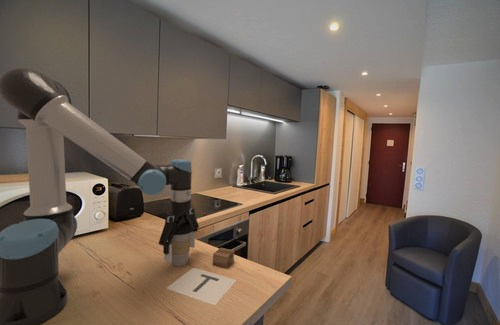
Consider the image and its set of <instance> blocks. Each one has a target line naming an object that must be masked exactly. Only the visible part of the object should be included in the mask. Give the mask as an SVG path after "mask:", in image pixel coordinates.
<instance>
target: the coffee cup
mask: <svg viewBox="0 0 500 325" xmlns="http://www.w3.org/2000/svg"><path fill="white" fill-rule="evenodd" d="M174 224H175V223H174ZM192 231H193V227H192V226H191V224H190V223H184V224H182V225H180V226H179V228H177V230H176V232H175V234H174V237H173V239H172V241H171V243H170V244H171V245H172V262H171V265H172V266H174V267H182V266H183V267H184V266H185V265H186V264H188V262H189V253H190V249H191V247H190V243H191V232H192Z"/></svg>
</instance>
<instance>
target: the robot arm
mask: <svg viewBox="0 0 500 325" xmlns="http://www.w3.org/2000/svg"><path fill="white" fill-rule="evenodd" d="M0 97H1V99H3V101H4V102H5V103H6V104H7V105H8V106H10V107H11V108H12V109H15V110H16V111H17V120H18V122H19V123H21V124H22V125H23V126H24V127H25V134H26V136H25V137H26V153H27V171H28V188H29V189H28V190H29V204H30V205H29V207H28V208H27V209H26V210H24V212H23V221H19V223H13V224H11V225H9V226H7V227H5V228H4V229H2V230H1V231H0V325H40V324H42V323H44V322H46V321H48V320H50V319H51V318H53V317H55V316H56V315H57V314H59V312H61V311H62V310H63V308H64V307H65V306H66V305H67V303H68V291H67V289H66V287H65V285H64V283H63V281H62V279H61V277H60V274H59V272H60V271H59V269H60V267H59V265H60V264H59V262H60V261H59V254H60V253H61V252H62V250H63V249H64V248H65V247H66V246H67V245H68V243H69V242H70V241H71V240H72V239H73V238H74V237H75V235H76V232H77V229H78V220H77V218H76V216H75V215H74V214H73V213H74V212H73V206H72V205H71V204H70V203H68V202H67V191H66V190H67V189H66V188H67V187H66V184H67V183H66V165H65V164H66V163H65V162H66V161H65V145H64V143H65V142H64V140H65V139H64V137H65V138H67V139H68V140H70V141H71V142H73V143H74V144H76V145H77V146H78V147H80V148H82V149H83V150H85V151H86V152H88V153H89V154H90V155H92V156H93V157H95V158H97V159H98V160H100V161H101V162H102V163H104V164H105V165H107V166H108V167H110V168H111V169H112V170H114V171H116V172H117V173H119V174H120V175H122V176H123V177H125V178H126V179H128V180H129V181H130V182H131V183H132V184H134V185H136V187H138V188H139V190H140V191H141V192H142V193H143V194H146V195H149V196H156V195H159V194H160V193H162V192H163V191H164V189H165V187H166V186H170V211H171V212H172V215H171V216H169V215H167V216H165V220H164V225H163V229H162V231H161V234H160V238H159V240H158V245H159V246H162V247H163V255H164V256H163V257H164V258H163V260H164V262H165V263H170V264H172V245H171V244H170V243H171V241H172V239H173V237H174V234H175V232H176V230H177V228H179V226H180V225H182V224H184V223H190V224H191V226H192V227H193V231H192V232H191V243H190V248H192V249H193V248H195V247H196V233H197V232H198V230H199V227H200V225H199V223H198V219H197V216H196V214H195V208H192V200H191V199H192V173H193V170H192V161H190V160H189V159H186V158H185V159H182V158H181V159H179V158H178V159H175V158H174V159H171V160H170V164H152V163H151V162H149V161H148V160H147V159H145V158H143V157H142V156H141V155H139V153H137V152H135V151H134V150H133V149H132V148H130V147H129V146H127V145H126V144H125V143H123V142H122V141H121V140H119V139H118V138H116V137H115V136H114V135H112V134H111V133H109V132H108V130H106V129H104V128H103V127H101V126H100V124H98V123H96V122H95V121H93V120H92V119H91V118H89V117H88V116H86V114H84V113H83V112H82V111H81V110H79V109H78V108H76V107H74V105H73V98H72V96H71V94H70V93H69V91H68V90H67V88H66V87H64V86H63V84H61V83H60V82H59V81H56V80H54V79H52V78H50V77H49V76H47V75H46V74H45V73H43V72H41V71H39V70H37V69H33V68H29V67H16V68H11V69H9V70H6V71H5V72H4V73H2V75H1V76H0ZM174 223H175V224H174Z"/></svg>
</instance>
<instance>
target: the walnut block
mask: <svg viewBox="0 0 500 325" xmlns="http://www.w3.org/2000/svg"><path fill="white" fill-rule="evenodd" d="M234 257H235V250H234V249H227V248H224V247H220V248H218V249H217V250H216V251H214V252H213V253H212V266H214V267H216V268H217V267H218V268H222V269H226V270H227V269H228V268H230V266H232V265H233V263H234V262H235V258H234Z"/></svg>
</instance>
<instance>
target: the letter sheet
mask: <svg viewBox="0 0 500 325" xmlns="http://www.w3.org/2000/svg"><path fill="white" fill-rule="evenodd" d="M236 281H237V280H236V279H234V278H230V277H227V276H224V275H220V274H217V273H213V272H209V271H206V270H203V269H200V268H196V267H192V268H191V269H189V270H188V271H187V272H185V273H184V274H182V275H181V276H180V277H179V278H178V279H176V280H175V281H174V282H172V283H171V284H170V285H168V286H167V287H165V289H166V290H170V291H172V292H175V293H178V294H181V295H184V296H186V297H189V298H192V299H195V300H198V301H200V302H204V303H206V304H209V305H212V306H216V305H217V303H218V302H219V301H220V300H221V299H222V298H223V297H224V296H225V294H226V293H227V292H228V291H229V290H230V289H231V287H232V286H233V285H234V284H235V283H236Z"/></svg>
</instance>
